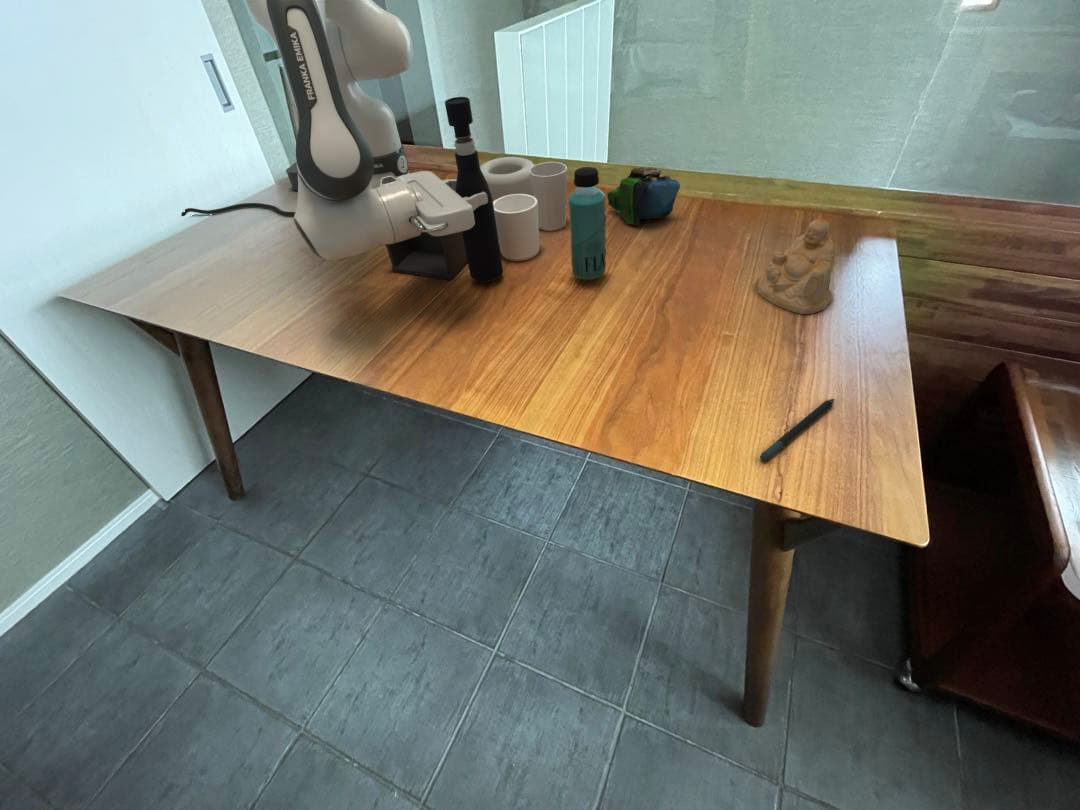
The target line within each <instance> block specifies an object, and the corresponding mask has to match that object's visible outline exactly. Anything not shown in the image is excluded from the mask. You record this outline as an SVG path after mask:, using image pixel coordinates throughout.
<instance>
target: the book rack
mask: <svg viewBox="0 0 1080 810" xmlns="http://www.w3.org/2000/svg"><path fill="white" fill-rule="evenodd" d="M385 246H386V250H387V253H388V257H389V260H390V262H391V263H390V264H391V266H392V267H391V271H392V273H399V274H406V275H413V276H421V277H427V278H435V279H443V280H448V281H452V280H454V279H455V278H456V277H457V275H458V274H460V272H461V271H462V270H463V269H464V268H465V267H466V266H467V265H468V261H467V256H466V250H465V245H464V240H463V235H462V231H461V232H457V233H453V234H449V235H444V236H432V235H430V234H429V233H426V232H423V233H421V235H420V236H417V237H413V238H410V239H407V240H404V241H401V242H397V243H394V244H385Z"/></svg>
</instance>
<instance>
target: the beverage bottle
mask: <svg viewBox="0 0 1080 810" xmlns="http://www.w3.org/2000/svg"><path fill="white" fill-rule="evenodd" d="M599 184H600V178H599V170H598V169H597V168H596V167H593V166H584V167H579V168H577V169H576V170H575V171H574V178H573V185H574V186H575V187H578V188H576V189H575V190H574V191H572V192H571V193H570V195H569V196H568V204H569V222H570V249H571V250H570V253H571V257H570V258H571V269H572V274H573V275H574V276H575V277H576V278H578V279H581V280H594V279H598V278H600V277H601V276H603V275H604V273H605V270H606V266H607V265H606V264H607V262H606V256H607V250H606V245H607V237H606V226H607V224H606V223H607V219H606V218H607V216H606V215H607V214H606V194H605V193H604V192H603V191H602V189H600V188H598V187H597V185H599Z"/></svg>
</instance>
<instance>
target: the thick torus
mask: <svg viewBox="0 0 1080 810" xmlns="http://www.w3.org/2000/svg"><path fill="white" fill-rule="evenodd" d="M534 165H535V163H533V161H531V160H529V159H527V158H524V157H519V156H505V157H498V158H494V159H491V160H489V161H488V160H487V161H486V162H483V164H480V169H481V171H482V173H483V175H484V177H485V179H486V181H487V184H488V186H489V189H490V192H491V195H492V199H493V202H494V201H495V200H497V199H499V198H501V197H503V196H507V195H512V194H527V195H531V196H533V191H532V185H531V180H530V174H529V169H530V168H531V167H533V166H534Z"/></svg>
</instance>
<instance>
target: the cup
mask: <svg viewBox="0 0 1080 810" xmlns="http://www.w3.org/2000/svg"><path fill="white" fill-rule="evenodd" d="M529 174H530V180H531V185H532V191H533V195H532V196H533V197H535V198H536V199H537V204H538V227H539V230H543V231H548V232H549V231H551V232H552V231H557V230H561V229H562V228H564V227H565V226H566V225H567V183H568V182H567V181H568V180H567V179H568V166H567V165H566V164H564V163H562V162H558V161H547V162H540V163H537V164H534V166H533V167H531V168H530V169H529Z"/></svg>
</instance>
